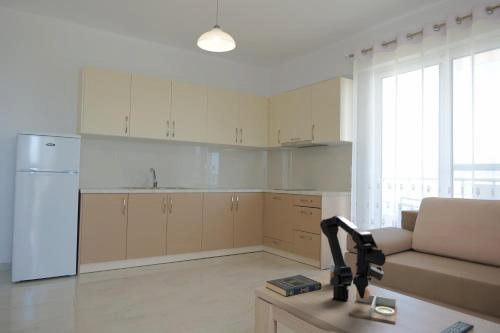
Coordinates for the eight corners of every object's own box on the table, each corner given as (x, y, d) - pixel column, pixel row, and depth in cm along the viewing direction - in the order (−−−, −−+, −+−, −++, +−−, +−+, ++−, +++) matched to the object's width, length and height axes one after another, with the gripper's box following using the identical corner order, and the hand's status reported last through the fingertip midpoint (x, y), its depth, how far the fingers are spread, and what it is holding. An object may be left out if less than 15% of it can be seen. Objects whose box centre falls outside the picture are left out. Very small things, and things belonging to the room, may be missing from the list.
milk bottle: (326, 283, 188) (327, 246, 189) (338, 282, 191) (338, 246, 192) (335, 287, 181) (336, 249, 182) (347, 286, 184) (347, 248, 185)
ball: (355, 299, 149) (355, 286, 149) (357, 295, 154) (357, 283, 154) (369, 301, 146) (369, 288, 147) (370, 298, 151) (370, 285, 152)
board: (348, 315, 144) (348, 304, 144) (355, 302, 160) (355, 292, 160) (395, 324, 136) (395, 312, 136) (396, 309, 152) (396, 298, 152)
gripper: (381, 267, 139) (380, 306, 138) (384, 258, 156) (384, 293, 155) (352, 264, 144) (352, 301, 143) (359, 255, 160) (358, 289, 160)
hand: (363, 296), depth 150 cm, fingers closed on ball, 5 cm apart
